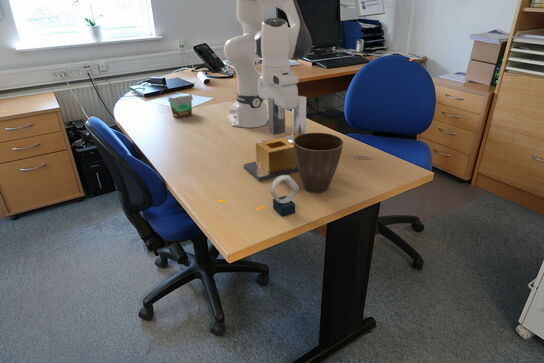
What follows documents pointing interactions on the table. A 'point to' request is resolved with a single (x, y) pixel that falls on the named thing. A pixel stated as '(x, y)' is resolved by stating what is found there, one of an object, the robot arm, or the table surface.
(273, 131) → the grey square rod
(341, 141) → the plant pot
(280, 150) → the gold block fixture
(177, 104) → the food container
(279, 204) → the watch
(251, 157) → the table surface
